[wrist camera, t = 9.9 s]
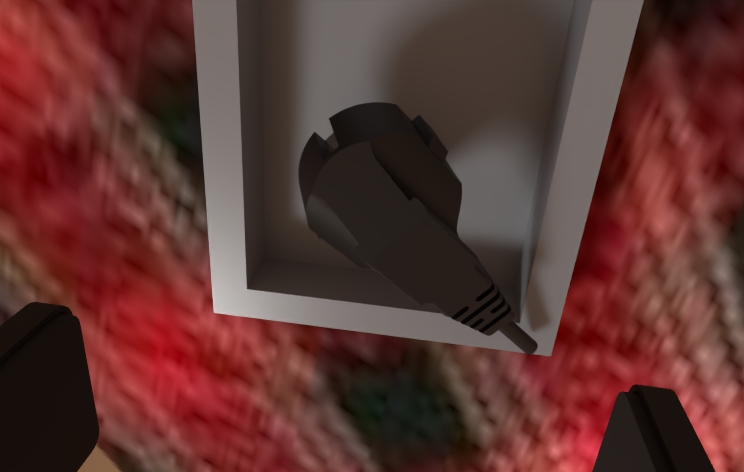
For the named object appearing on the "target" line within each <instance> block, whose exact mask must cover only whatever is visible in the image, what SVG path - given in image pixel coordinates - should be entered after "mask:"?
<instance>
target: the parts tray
mask: <svg viewBox="0 0 744 472" xmlns="http://www.w3.org/2000/svg"><path fill="white" fill-rule="evenodd" d="M643 1H644V0H192V3H193V17H194V32H195V47H196V61H197V76H198V90H199V105H200V119H201V134H202V148H203V163H204V177H205V192H206V206H207V221H208V236H209V250H210V265H211V279H212V294H213V308H214V313H220V314H228V315H236V316H244V317H251V318H259V319H267V320H274V321H282V322H290V323H298V324H305V325H313V326H321V327H328V328H336V329H344V330H352V331H359V332H367V333H375V334H382V335H390V336H398V337H406V338H413V339H421V340H429V341H436V342H444V343H452V344H460V345H467V346H475V347H483V348H491V349H498V350H506V351H514V352H521V353H525V352H524V351H522V350H521V349H520V348H519V347H518V346H517V345H515V344H514V343H513V342H512V341H511V340H509V339H508V338H507V337H506V336H505V335H504V334H502V333H501V332H500V331H499V330H498V331H497V332H495V333H494V334H493V335H491V336H487V335H484V334H482V333H480V332H479V331H478V330H477V331H476V330H474V329H472V328H470V327H469V326H466V325H463V324H461V323H460V322H457V321H455V320H453V319H452V318H451V317H447V316H445V315H443V314H442V313H441V312H439V311H438V310H437V309H436V308H434V307H433V306H432V305H430V304H428V303H425V304H423V305H422V306H419V305H418V304H417V303H415V302H414V301H413V300H412V299H410V298H409V297H408V296H407V295H405V294H404V293H403V292H402V291H400V290H399V289H398V288H396V287H395V286H394V285H393V284H391V283H390V282H389V281H387V280H386V279H385V278H384V277H382V276H381V275H380V274H379V273H377V272H376V271H375V270H373V269H366V268H360V267H358V266H357V265H356V264H354V263H353V262H352V261H351V260H349V259H348V258H347V257H345V256H344V255H343V254H341V253H340V252H339V251H338V250H333V249H332V248H331V247H329V246H328V245H327V244H325V243H324V242H323V241H321V240H320V239H319V238H318V236H317V234H316V233H314V232H313V231H312V230H310V229H309V226H308V223H307V218H306V214H305V209H304V204H303V200H302V195H301V191H300V186H299V179H298V168H299V162H300V158H301V154H302V152H303V149H304V147H305V145H306V143H307V142H308V140H309V138H310V137H311V136H312V134H313V133H314V132H316V133H317V134H318V135H319V136H320V137H322V138H323V139H324V140H326V139H327V138H328V137H329V136H330V135H331V134H332V133H333V129H332V126H331V124H330V121H329V118H330V117H332V116H333V115H335V114H336V113H338V112H340V111H342V110H344V109H346V108H349V107H352V106H355V105H359V104H363V103H371V102H383V103H391V104H396V105H398V107H399V108H400V109H401V110H402V111H403V112H404V113H405V114H406V115H407V116H408V117H409V118H410V119H411V120H414V119H415V118H416V117H417V116H418V115H420V116H421V117H422V118H423V119H424V120H425V121H426V122H427V124H428V125H429V126H430V127H431V128H432V129H433V130H434V132H435V133H436V135H437V136H438V138H439V139H440V141H441V142H442V143H443V145H444V146H445V148H446V149H447V151H448V154H447V157H446V161H447V162H448V164H449V165H450V167H451V168H452V170H453V171H454V173H455V174H456V176H457V177H458V179H459V180H460V182H461V183H462V201H461V207H460V213H459V218H458V223H457V233H458V236H459V238H460V239H461V240H462V241H463V242H464V243H465V244H466V245H467V246H468V247H469V248H470V249H471V250H472V251H473V252H474V253H475V254H476V255H477V257H478V259H479V261H480V262H481V264H482V265H483V266H484V268H485V269H486V271H487V272H488V274H489V275H490V276H491V278H492V279H493V281H494V283H495V284H496V285H497V286H498V288H499V289H500V291H501V293H502V294H503V295H504V297H505V298H506V299H507V301H508V303H509V304H510V306H511V308H512V309H513V311H514V313H515V317H514V319H513V320H512V321H514V322H515V323H516V324H517V325H518V326H519V327H520V328H521V329H522V330H524V331H525V332H526V333H527V334H528V335H529V336H530V337H531V338H533V339H534V340H535V341H536V342H537V344H538V347H537V350H536V351H535V352H534V353H533V354H537V355H545V356H551V353H552V350H553V346H554V342H555V338H556V334H557V330H558V327H559V323H560V319H561V315H562V311H563V308H564V304H565V300H566V296H567V292H568V288H569V285H570V281H571V277H572V273H573V269H574V265H575V262H576V258H577V254H578V250H579V246H580V242H581V239H582V235H583V231H584V227H585V223H586V220H587V216H588V212H589V208H590V204H591V200H592V197H593V193H594V189H595V185H596V181H597V177H598V174H599V170H600V166H601V162H602V158H603V155H604V151H605V147H606V143H607V139H608V135H609V132H610V128H611V124H612V120H613V116H614V112H615V109H616V105H617V101H618V97H619V93H620V89H621V86H622V82H623V78H624V74H625V70H626V67H627V63H628V59H629V55H630V51H631V47H632V44H633V40H634V36H635V32H636V28H637V24H638V21H639V17H640V13H641V9H642V5H643Z"/></svg>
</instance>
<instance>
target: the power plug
mask: <svg viewBox="0 0 744 472" xmlns="http://www.w3.org/2000/svg"><path fill="white" fill-rule="evenodd" d="M329 121H330V124H331V126H332V129H333V133H332V134H331V135H330V136H329V137H328V138H327V139H326V140H324V139H323V138H322V137H320V136H319V135H318V134H317V133H316V132H314V133H313V134H312V136H311V137H310V138H309V140H308V142H307V143H306V145H305V147H304V149H303V152H302V154H301V158H300V162H299V168H298V179H299V186H300V191H301V195H302V200H303V204H304V209H305V214H306V218H307V223H308V226H309V229H310V230H312V231H313V232H314V233H316V234H317V236H318V238H319V239H320V240H321V241H323V242H324V243H325V244H327V245H328V246H329V247H331V248H332V249H333V250H338V251H339V252H340V253H341V254H343V255H344V256H345V257H347V258H348V259H349V260H351V261H352V262H353V263H354V264H356V265H357V266H358V267H360V268H366V269H373V270H375V271H376V272H377V273H379V274H380V275H381V276H382V277H384V278H385V279H386V280H387V281H389V282H390V283H391V284H393V285H394V286H395V287H396V288H398V289H399V290H400V291H402V292H403V293H404V294H405V295H407V296H408V297H409V298H410V299H412V300H413V301H414V302H415V303H417V304H418V305H419V306H422V305H423V304H425V303H428V304H430V305H432V306H433V307H434V308H436V309H437V310H438V311H439V312H441V313H442V314H443V315H445V316H447V317H451V318H452V319H453V320H455V321H457V322H460V323H461V324H463V325H466V326H469V327H470V328H472V329H474V330H476V331H477V330H478V331H479V332H480V333H482V334H484V335H487V336H491V335H493V334H494V333H495V332H497V331H498V330H499V331H500V332H501V333H502V334H504V335H505V336H506V337H507V338H508V339H509V340H511V341H512V342H513V343H514V344H515V345H517V346H518V347H519V348H520V349H521V350H522V351H524V352H525V353H526V354H533V353H534V352H535V351H536V350H537V347H538V344H537V342H536V341H535V340H534V339H533V338H531V337H530V336H529V335H528V334H527V333H526V332H525V331H524V330H522V329H521V328H520V327H519V326H518V325H517V324H516V323H515V322H514V321H512V320H513V319H514V317H515V313H514V311H513V309H512V308H511V306H510V304H509V303H508V301H507V299H506V298H505V297H504V295H503V294H502V293H501V291H500V289H499V288H498V286H497V285H496V284H495V283H494V281H493V279H492V278H491V276H490V275H489V274H488V272H487V271H486V269H485V268H484V266H483V265H482V264H481V262H480V261H479V259H478V257H477V255H476V254H475V253H474V252H473V251H472V250H471V249H470V248H469V247H468V246H467V245H466V244H465V243H464V242H463V241H462V240H461V239H460V238H459V236H458V233H457V223H458V218H459V213H460V207H461V201H462V183H461V182H460V180H459V179H458V177H457V176H456V174H455V173H454V171H453V170H452V168H451V167H450V165H449V164H448V162H447V161H446V157H447V154H448V151H447V149H446V148H445V146H444V145H443V143H442V142H441V141H440V139H439V138H438V136H437V135H436V133H435V132H434V130H433V129H432V128H431V127H430V126H429V125H428V124H427V122H426V121H425V120H424V119H423V118H422V117H421V116H420V115H418V116H417V117H416V118H415V119H414V120H411V119H410V118H409V117H408V116H407V115H406V114H405V113H404V112H403V111H402V110H401V109H400V108H399V107H398V105H396V104H391V103H383V102H371V103H363V104H359V105H355V106H352V107H349V108H346V109H344V110H342V111H340V112H338V113H336V114H335V115H333V116H332V117H330V118H329Z"/></svg>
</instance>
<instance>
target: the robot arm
mask: <svg viewBox="0 0 744 472" xmlns="http://www.w3.org/2000/svg"><path fill="white" fill-rule="evenodd" d="M98 437H99V425H98V419H97V414H96V408H95V403H94V397H93V392H92V386H91V381H90V375H89V370H88V364H87V359H86V353H85V348H84V342H83V337H82V331H81V326H80V322H79V319H78V318H77V317H76V316H73V315H72V312H71V310H70V309H69V308H68V307H66V306H61V305H54V304H47V303H40V302H33V303H30V304H28V305H26V306H25V307H24V308H22V309H21V310H20V311H19V312H17V313H16V314H15V315H14V316H12V317H11V318H10V319H9V320H7V321H6V322H5V323H4V324H2V325H1V326H0V472H77V471H78V470H79V468H80V467H81V466H82V464H83V463H84V462H85V460H86V459H87V458H88V456H89V455H90V454H91V452H92V451H93V449H94V448H95V446H96V443H97V440H98ZM592 472H715V470H714V468H713V466H712V464H711V462H710V460H709V458H708V456H707V454H706V452H705V450H704V448H703V446H702V444H701V442H700V440H699V438H698V436H697V434H696V432H695V430H694V428H693V426H692V425H691V423H690V421H689V419H688V417H687V415H686V413H685V411H684V409H683V407H682V405H681V403H680V401H679V399H678V397H677V395H676V394H675V392H674V391H673V390H671V389H666V388H658V387H651V386H644V385H637V384H636V385H633V386H632V387H631V388H630V390H629V392H620V393H619V394H618V396H617V398H616V401H615V404H614V407H613V410H612V413H611V417H610V420H609V423H608V426H607V429H606V432H605V435H604V438H603V441H602V444H601V447H600V450H599V453H598V456H597V459H596V462H595V465H594V468H593V471H592Z"/></svg>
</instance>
